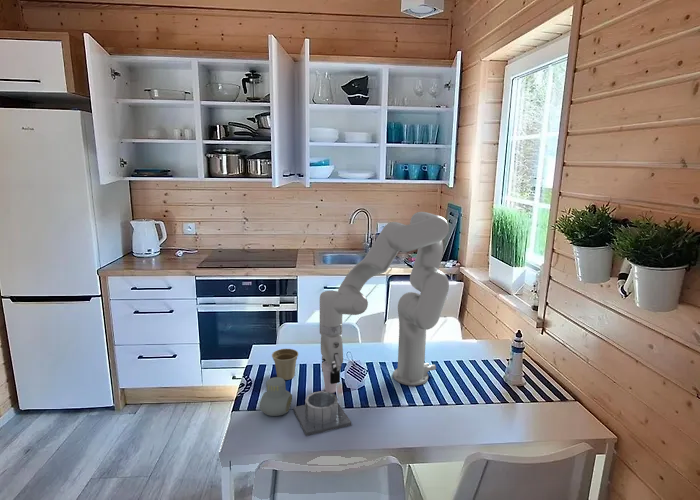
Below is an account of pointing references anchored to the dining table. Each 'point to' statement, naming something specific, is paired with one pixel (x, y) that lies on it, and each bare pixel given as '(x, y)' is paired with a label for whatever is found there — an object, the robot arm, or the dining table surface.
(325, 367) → the smoothie
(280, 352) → the flower pot
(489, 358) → the dining table surface
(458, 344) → the dining table surface
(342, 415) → the duct collar
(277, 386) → the air freshener
